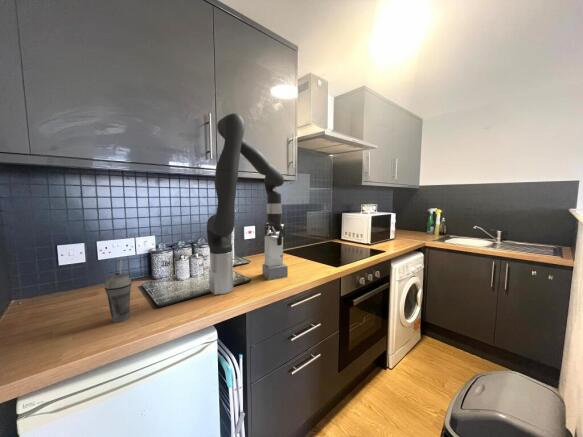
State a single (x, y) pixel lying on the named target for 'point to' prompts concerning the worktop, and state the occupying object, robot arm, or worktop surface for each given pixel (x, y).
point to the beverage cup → (119, 295)
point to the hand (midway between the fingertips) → (274, 244)
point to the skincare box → (273, 251)
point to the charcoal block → (275, 271)
